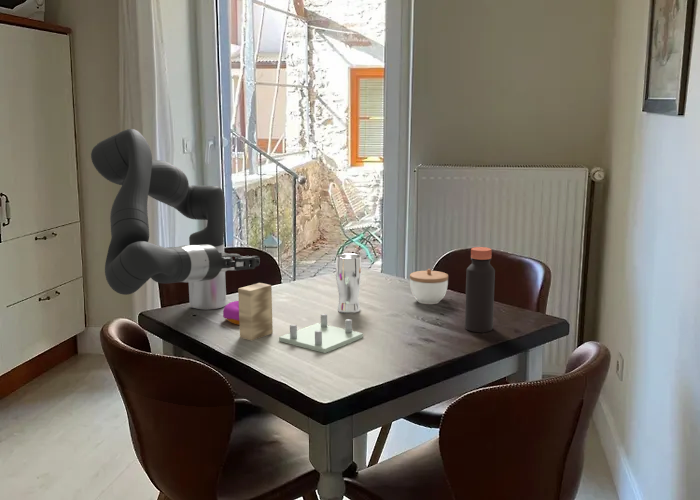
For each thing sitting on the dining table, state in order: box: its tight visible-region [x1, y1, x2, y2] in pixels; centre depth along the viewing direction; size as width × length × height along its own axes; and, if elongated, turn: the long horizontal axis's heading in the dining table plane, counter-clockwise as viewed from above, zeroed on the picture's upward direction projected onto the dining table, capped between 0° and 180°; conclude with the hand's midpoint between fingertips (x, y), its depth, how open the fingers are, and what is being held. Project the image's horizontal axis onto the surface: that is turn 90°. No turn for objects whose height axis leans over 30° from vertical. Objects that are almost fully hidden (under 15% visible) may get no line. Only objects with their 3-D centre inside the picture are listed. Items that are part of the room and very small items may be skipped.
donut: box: [222, 300, 240, 326], centre depth 181 cm, size 10×10×5 cm
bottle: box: [464, 246, 496, 333], centre depth 171 cm, size 7×7×20 cm
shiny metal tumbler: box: [335, 253, 363, 315], centre depth 188 cm, size 7×7×15 cm
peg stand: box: [278, 313, 364, 354], centre depth 165 cm, size 14×14×4 cm
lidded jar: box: [409, 268, 449, 305], centre depth 197 cm, size 11×11×9 cm
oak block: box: [237, 282, 274, 342], centre depth 167 cm, size 7×4×12 cm, turn 142°
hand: (242, 259), depth 158 cm, fingers open, 8 cm apart
